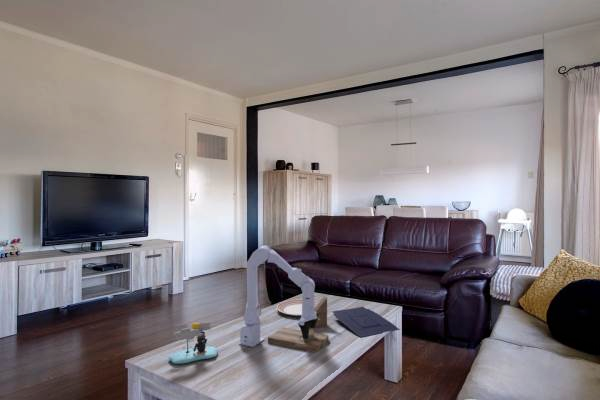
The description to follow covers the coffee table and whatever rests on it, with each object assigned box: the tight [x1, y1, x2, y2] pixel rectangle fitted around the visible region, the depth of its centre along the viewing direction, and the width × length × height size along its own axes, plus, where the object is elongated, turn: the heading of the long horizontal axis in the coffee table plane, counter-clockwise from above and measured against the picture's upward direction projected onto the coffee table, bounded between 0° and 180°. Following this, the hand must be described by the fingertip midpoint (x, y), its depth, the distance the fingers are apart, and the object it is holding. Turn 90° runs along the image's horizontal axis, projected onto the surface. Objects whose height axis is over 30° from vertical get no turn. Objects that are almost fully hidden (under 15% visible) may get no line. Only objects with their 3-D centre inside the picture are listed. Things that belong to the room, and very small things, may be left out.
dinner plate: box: [276, 298, 320, 317], centre depth 217 cm, size 27×27×3 cm
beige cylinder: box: [302, 327, 315, 340], centre depth 169 cm, size 5×5×6 cm
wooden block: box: [315, 296, 328, 328], centre depth 193 cm, size 4×11×18 cm, turn 113°
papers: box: [331, 306, 401, 338], centre depth 195 cm, size 24×30×4 cm
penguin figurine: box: [168, 321, 219, 365], centre depth 155 cm, size 20×11×15 cm, turn 113°
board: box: [267, 327, 329, 353], centre depth 172 cm, size 14×24×2 cm, turn 64°
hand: (308, 336), depth 169 cm, fingers open, 5 cm apart
